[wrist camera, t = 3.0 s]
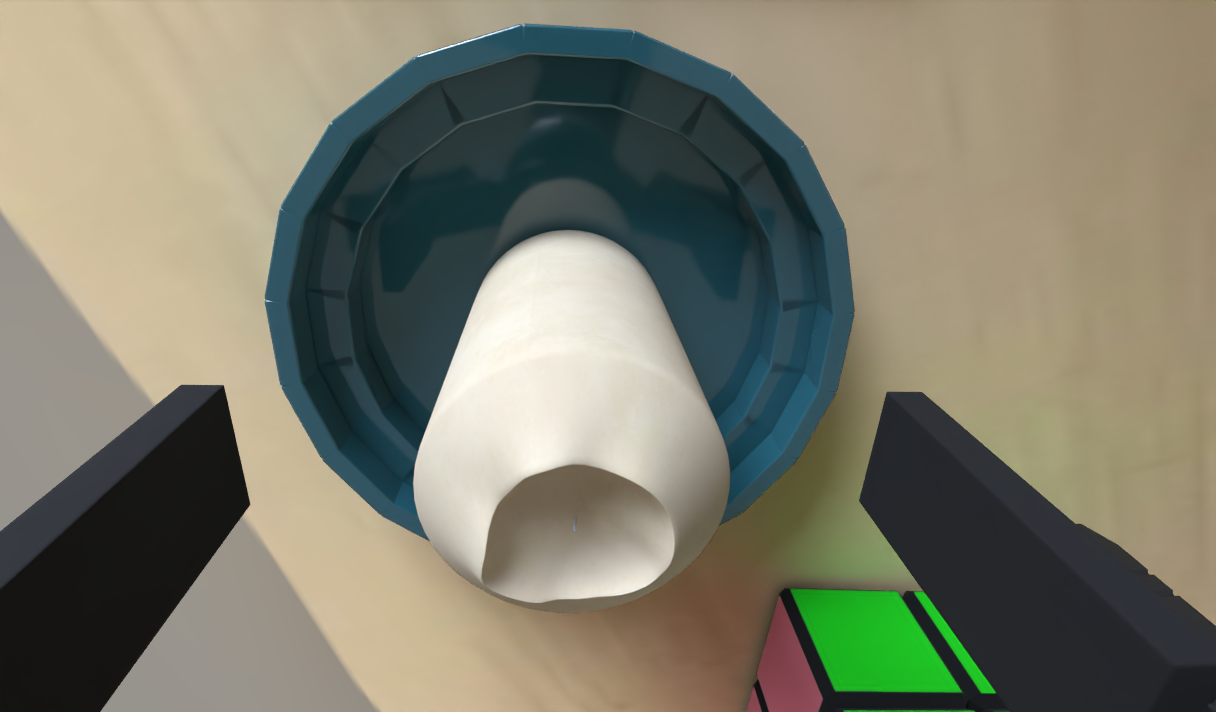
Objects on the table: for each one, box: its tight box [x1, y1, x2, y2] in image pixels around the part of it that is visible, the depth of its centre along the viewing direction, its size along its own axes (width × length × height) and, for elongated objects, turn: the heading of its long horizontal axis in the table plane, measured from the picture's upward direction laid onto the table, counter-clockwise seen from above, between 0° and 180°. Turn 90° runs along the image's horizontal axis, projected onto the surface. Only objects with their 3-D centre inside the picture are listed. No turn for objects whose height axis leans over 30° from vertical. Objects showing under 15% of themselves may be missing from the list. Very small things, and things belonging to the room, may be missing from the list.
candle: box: [413, 230, 730, 613], centre depth 14 cm, size 6×6×10 cm
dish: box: [265, 24, 855, 541], centre depth 18 cm, size 15×15×3 cm
